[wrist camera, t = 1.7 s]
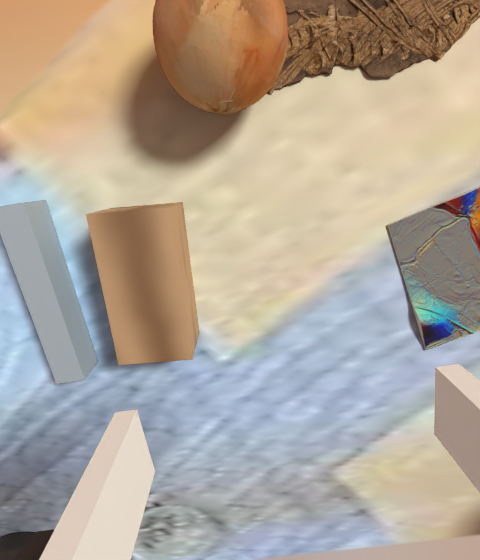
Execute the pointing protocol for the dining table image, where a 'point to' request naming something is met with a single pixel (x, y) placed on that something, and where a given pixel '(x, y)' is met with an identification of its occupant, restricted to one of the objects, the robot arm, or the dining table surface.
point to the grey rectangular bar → (47, 289)
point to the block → (146, 281)
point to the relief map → (442, 266)
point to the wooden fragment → (370, 34)
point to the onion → (221, 49)
